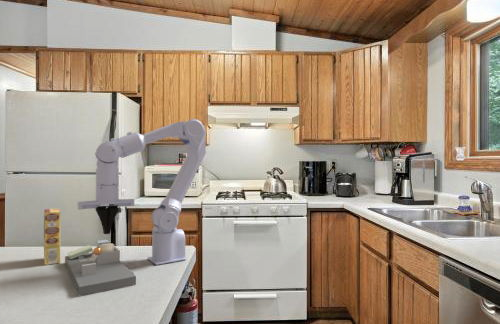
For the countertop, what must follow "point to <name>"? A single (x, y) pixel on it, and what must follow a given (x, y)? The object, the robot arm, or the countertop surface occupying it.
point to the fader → (102, 242)
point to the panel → (99, 272)
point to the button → (107, 247)
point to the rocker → (80, 252)
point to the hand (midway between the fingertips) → (106, 233)
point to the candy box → (51, 236)
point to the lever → (95, 254)
